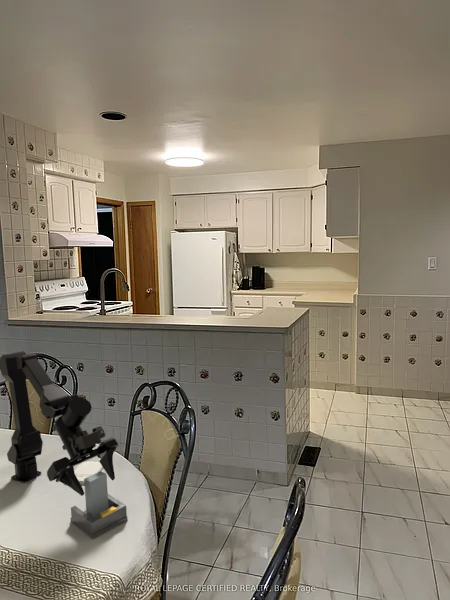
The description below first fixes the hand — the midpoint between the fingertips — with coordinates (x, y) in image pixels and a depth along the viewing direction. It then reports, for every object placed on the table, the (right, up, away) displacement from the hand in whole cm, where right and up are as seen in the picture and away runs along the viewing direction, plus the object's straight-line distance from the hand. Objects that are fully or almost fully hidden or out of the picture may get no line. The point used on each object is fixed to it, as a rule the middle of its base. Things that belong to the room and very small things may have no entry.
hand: (99, 487), depth 114 cm
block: (-1, -8, +2) cm, 9 cm away
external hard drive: (-12, -8, +27) cm, 30 cm away
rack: (0, -9, +2) cm, 10 cm away
